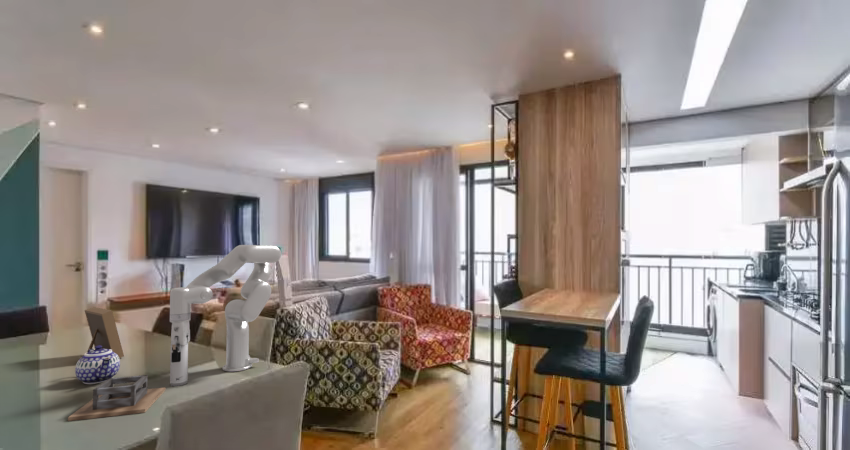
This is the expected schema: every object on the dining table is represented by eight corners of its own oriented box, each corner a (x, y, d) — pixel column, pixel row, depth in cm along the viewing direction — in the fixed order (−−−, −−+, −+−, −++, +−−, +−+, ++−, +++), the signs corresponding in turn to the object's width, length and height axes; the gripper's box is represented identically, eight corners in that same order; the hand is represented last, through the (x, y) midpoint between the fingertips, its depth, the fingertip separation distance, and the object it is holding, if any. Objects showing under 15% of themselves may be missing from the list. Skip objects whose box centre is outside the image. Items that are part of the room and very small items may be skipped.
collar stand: (165, 390, 162) (165, 370, 162) (144, 412, 141) (145, 389, 141) (99, 396, 156) (100, 375, 156) (68, 421, 135) (68, 396, 135)
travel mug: (180, 386, 166) (180, 337, 167) (166, 385, 167) (167, 336, 168) (191, 381, 172) (192, 333, 173) (178, 380, 173) (179, 333, 174)
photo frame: (106, 352, 220) (107, 305, 221) (124, 358, 208) (125, 309, 209) (71, 359, 207) (72, 309, 208) (88, 365, 195) (89, 313, 196)
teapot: (68, 379, 177) (69, 344, 177) (110, 370, 188) (111, 338, 189) (82, 391, 161) (83, 353, 162) (128, 381, 173) (128, 346, 173)
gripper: (184, 320, 163) (183, 363, 163) (195, 313, 180) (194, 352, 179) (163, 321, 161) (162, 365, 161) (176, 314, 178) (175, 354, 177)
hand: (179, 358), depth 170 cm, fingers open, 9 cm apart
